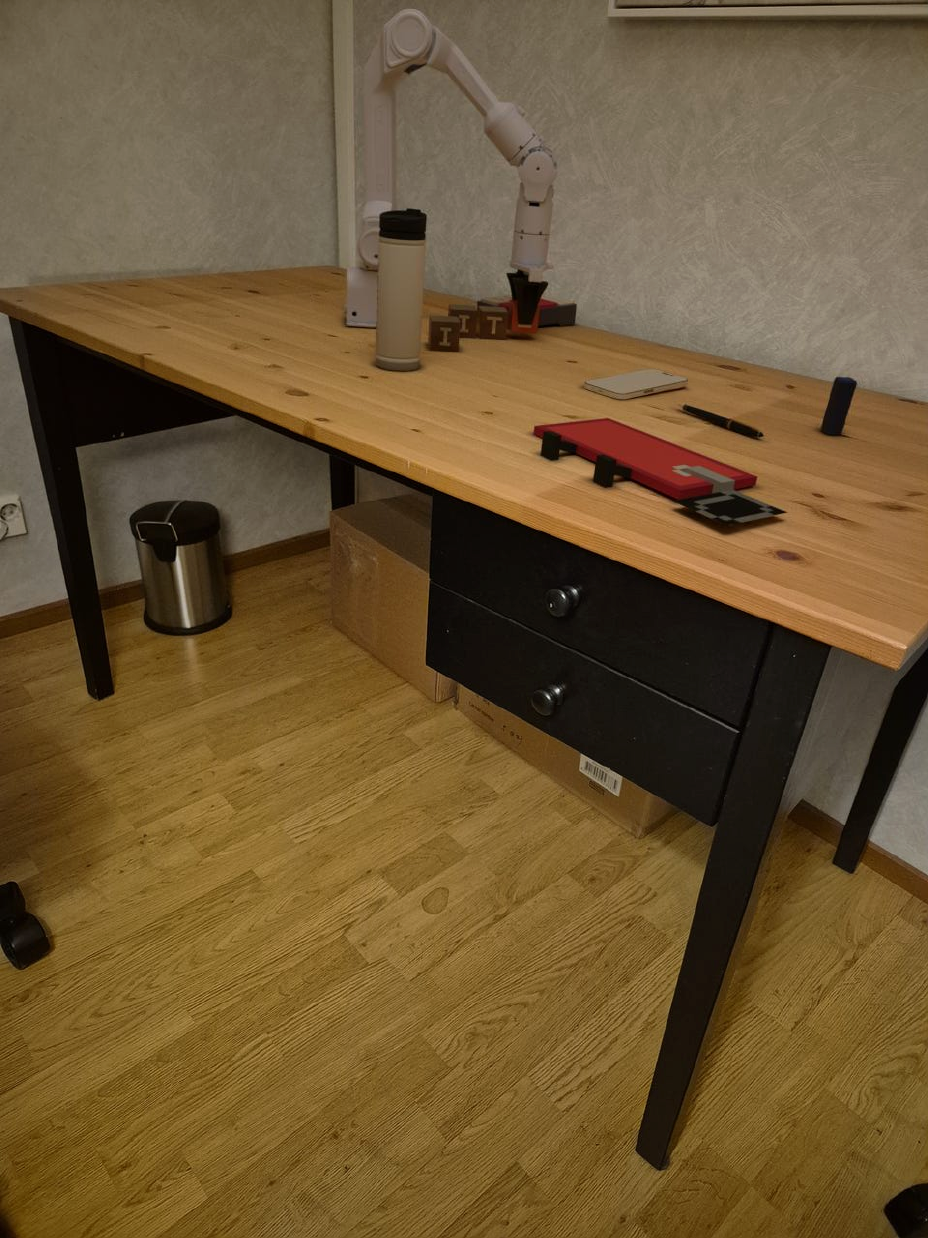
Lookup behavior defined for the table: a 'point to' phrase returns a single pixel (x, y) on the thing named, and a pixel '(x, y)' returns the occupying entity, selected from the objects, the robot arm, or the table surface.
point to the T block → (492, 322)
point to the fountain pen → (724, 421)
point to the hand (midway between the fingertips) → (522, 321)
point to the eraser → (838, 405)
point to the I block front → (444, 333)
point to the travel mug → (400, 289)
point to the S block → (514, 324)
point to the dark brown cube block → (465, 319)
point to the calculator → (541, 309)
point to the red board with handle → (657, 467)
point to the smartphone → (635, 383)
